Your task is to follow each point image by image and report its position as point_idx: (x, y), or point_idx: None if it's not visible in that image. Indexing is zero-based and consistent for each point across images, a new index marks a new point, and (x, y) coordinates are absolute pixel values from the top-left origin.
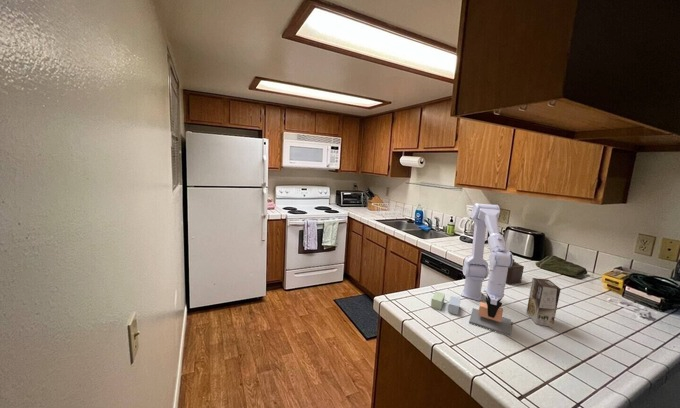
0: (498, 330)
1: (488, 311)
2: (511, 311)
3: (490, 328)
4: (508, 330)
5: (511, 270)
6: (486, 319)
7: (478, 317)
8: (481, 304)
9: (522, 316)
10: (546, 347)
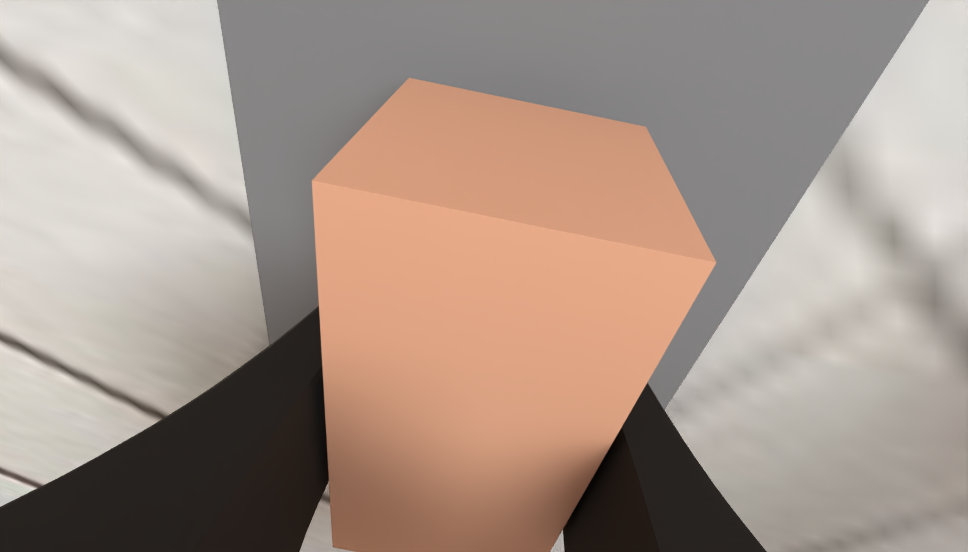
0: (267, 308)
1: (281, 346)
2: (873, 498)
3: (258, 226)
4: None
5: None
6: None
7: (490, 84)
8: (487, 262)
9: (768, 538)
10: (319, 525)
